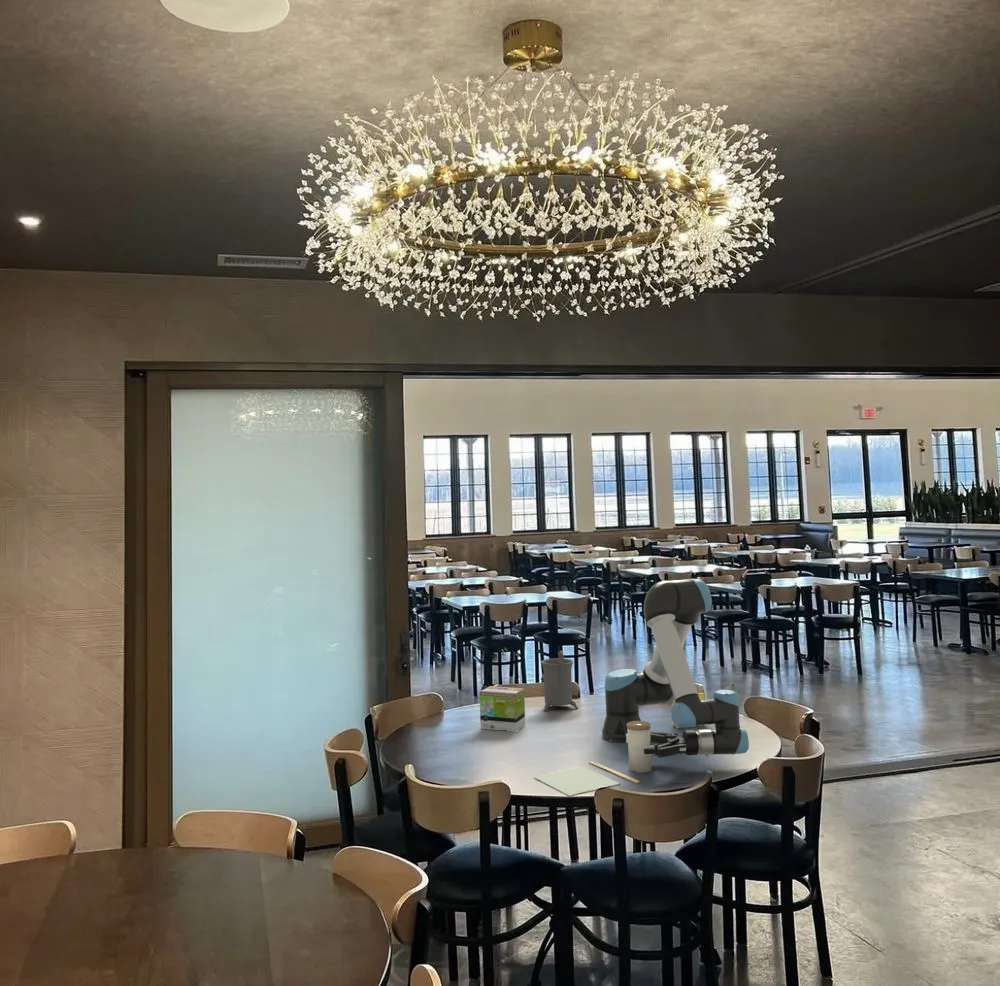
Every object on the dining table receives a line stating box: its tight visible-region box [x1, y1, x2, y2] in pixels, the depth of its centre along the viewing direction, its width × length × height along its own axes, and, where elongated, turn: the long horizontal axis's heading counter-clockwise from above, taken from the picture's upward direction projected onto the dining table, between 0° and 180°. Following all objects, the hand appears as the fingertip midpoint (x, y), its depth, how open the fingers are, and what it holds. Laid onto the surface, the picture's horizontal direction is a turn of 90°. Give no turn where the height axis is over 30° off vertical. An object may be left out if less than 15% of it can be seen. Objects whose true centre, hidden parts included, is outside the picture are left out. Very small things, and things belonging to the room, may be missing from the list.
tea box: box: [479, 685, 526, 732], centre depth 306 cm, size 15×10×15 cm, turn 68°
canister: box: [627, 720, 653, 773], centre depth 250 cm, size 7×7×14 cm
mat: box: [533, 765, 621, 797], centre depth 241 cm, size 20×18×1 cm
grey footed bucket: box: [540, 650, 579, 712], centre depth 334 cm, size 19×15×25 cm
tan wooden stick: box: [588, 760, 641, 784], centre depth 248 cm, size 24×2×1 cm, turn 29°
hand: (629, 744), depth 250 cm, fingers open, 13 cm apart
